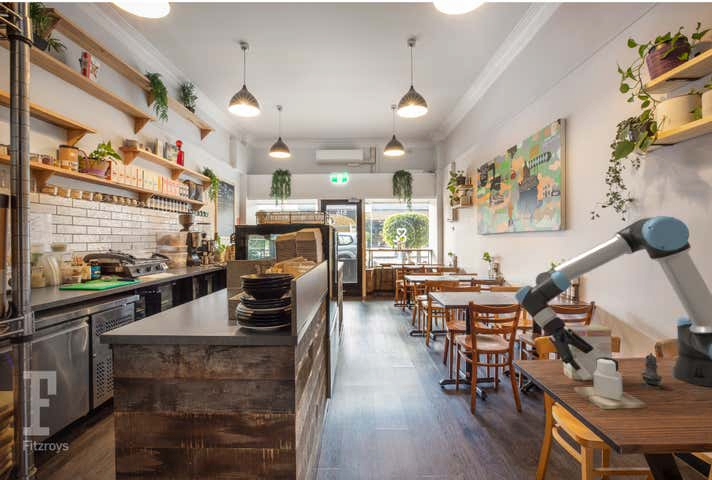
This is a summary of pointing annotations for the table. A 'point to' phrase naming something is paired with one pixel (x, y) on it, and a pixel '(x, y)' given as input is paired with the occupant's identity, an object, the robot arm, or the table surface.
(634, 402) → the maple board
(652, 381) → the grey chess piece
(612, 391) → the medicine bottle
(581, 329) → the coffeecake box
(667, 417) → the table surface
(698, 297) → the robot arm
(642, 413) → the table surface
